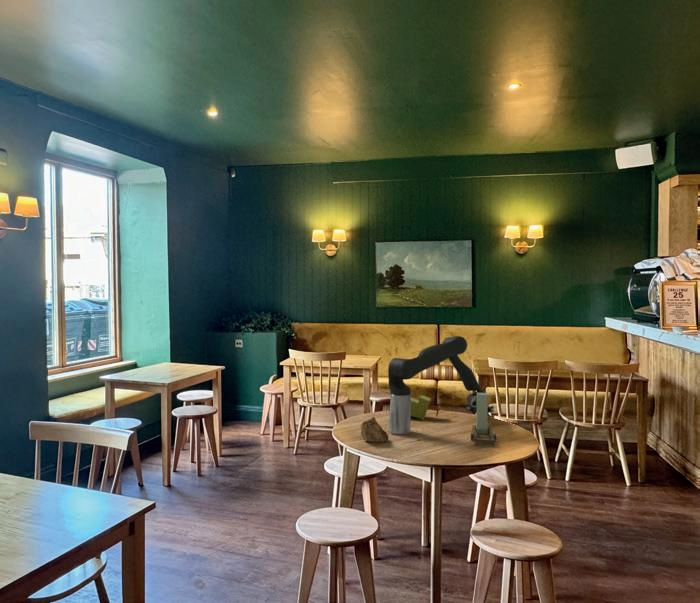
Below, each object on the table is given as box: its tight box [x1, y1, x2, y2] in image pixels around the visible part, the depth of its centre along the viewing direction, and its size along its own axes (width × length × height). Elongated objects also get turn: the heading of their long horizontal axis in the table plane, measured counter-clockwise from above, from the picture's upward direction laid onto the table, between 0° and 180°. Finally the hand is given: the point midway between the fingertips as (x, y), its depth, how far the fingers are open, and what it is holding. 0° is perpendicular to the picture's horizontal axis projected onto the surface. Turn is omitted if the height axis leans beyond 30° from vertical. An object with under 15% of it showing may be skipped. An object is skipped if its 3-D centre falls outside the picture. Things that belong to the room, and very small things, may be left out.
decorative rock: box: [360, 416, 390, 443], centre depth 213 cm, size 12×6×11 cm, turn 105°
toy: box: [411, 394, 441, 421], centre depth 256 cm, size 9×12×20 cm
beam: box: [470, 425, 497, 448], centre depth 218 cm, size 24×10×3 cm, turn 169°
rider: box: [475, 392, 489, 434], centre depth 226 cm, size 6×5×17 cm
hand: (481, 412), depth 229 cm, fingers closed
